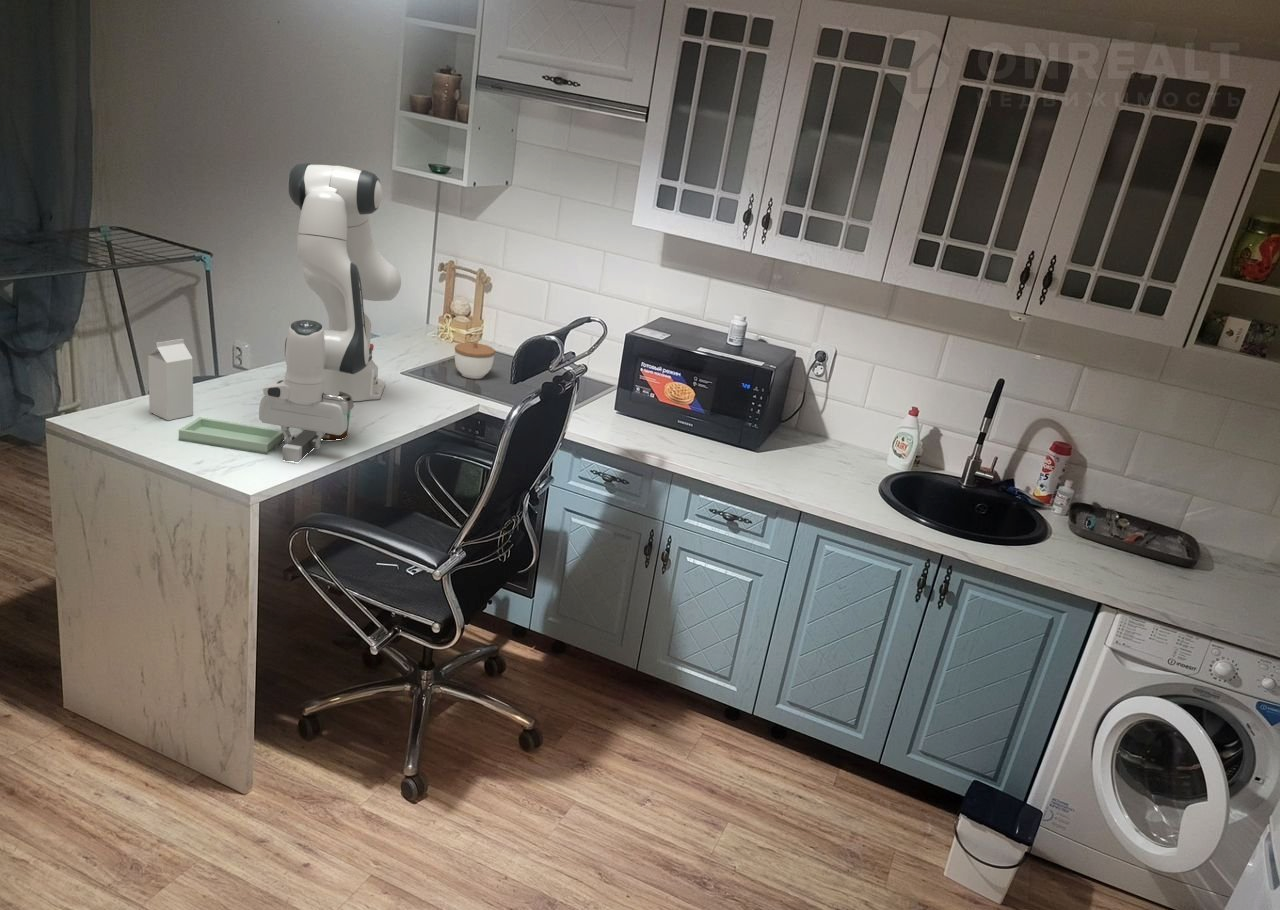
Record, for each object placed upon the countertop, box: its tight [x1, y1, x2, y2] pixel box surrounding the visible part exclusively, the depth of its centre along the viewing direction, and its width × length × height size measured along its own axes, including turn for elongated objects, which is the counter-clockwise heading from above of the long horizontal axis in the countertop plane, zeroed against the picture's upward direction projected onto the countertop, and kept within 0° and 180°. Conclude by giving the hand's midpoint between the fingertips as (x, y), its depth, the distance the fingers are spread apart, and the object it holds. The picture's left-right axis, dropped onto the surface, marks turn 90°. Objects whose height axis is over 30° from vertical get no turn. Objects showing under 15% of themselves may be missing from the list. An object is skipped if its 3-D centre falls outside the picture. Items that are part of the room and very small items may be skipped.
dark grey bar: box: [282, 429, 322, 462], centre depth 228 cm, size 15×4×4 cm, turn 177°
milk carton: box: [147, 338, 194, 421], centre depth 235 cm, size 7×7×19 cm
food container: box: [322, 391, 355, 440], centre depth 239 cm, size 12×6×10 cm, turn 168°
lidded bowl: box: [454, 341, 496, 380], centre depth 305 cm, size 13×13×11 cm
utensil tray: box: [178, 416, 285, 455], centre depth 228 cm, size 10×21×2 cm, turn 87°
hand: (302, 445), depth 228 cm, fingers open, 5 cm apart
